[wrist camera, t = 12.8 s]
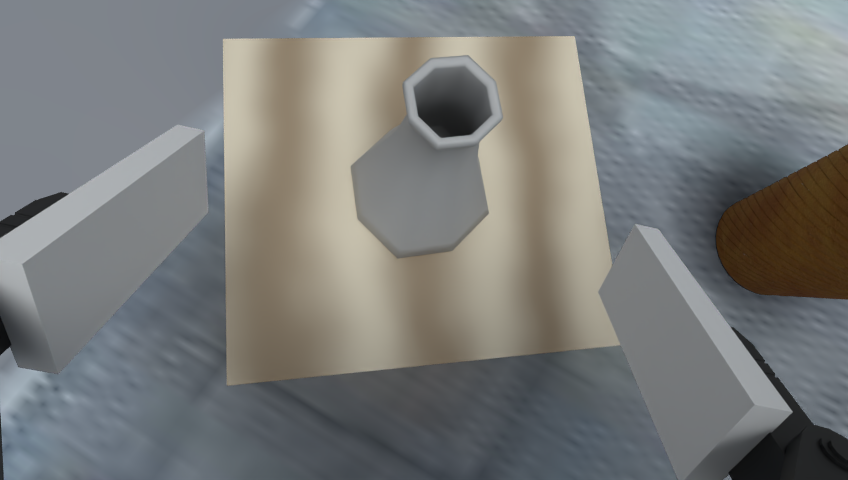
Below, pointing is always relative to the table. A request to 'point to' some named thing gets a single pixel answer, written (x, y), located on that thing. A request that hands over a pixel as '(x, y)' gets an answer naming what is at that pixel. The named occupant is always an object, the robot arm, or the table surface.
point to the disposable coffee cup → (792, 233)
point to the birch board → (363, 253)
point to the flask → (430, 161)
